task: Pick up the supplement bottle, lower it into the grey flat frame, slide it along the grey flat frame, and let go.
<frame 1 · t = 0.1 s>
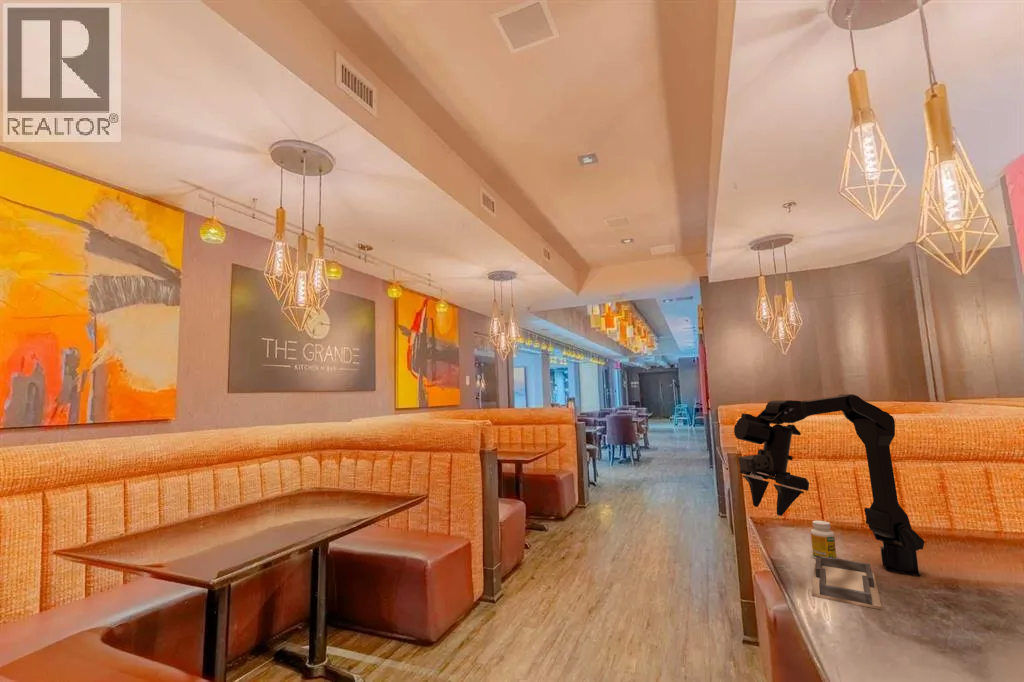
hand: (766, 510, 113), 15 cm above the table, tool pointing down, fingers open, 9 cm apart
grey flat frame: (844, 585, 105), on the table
supplement bottle: (824, 560, 122), on the table
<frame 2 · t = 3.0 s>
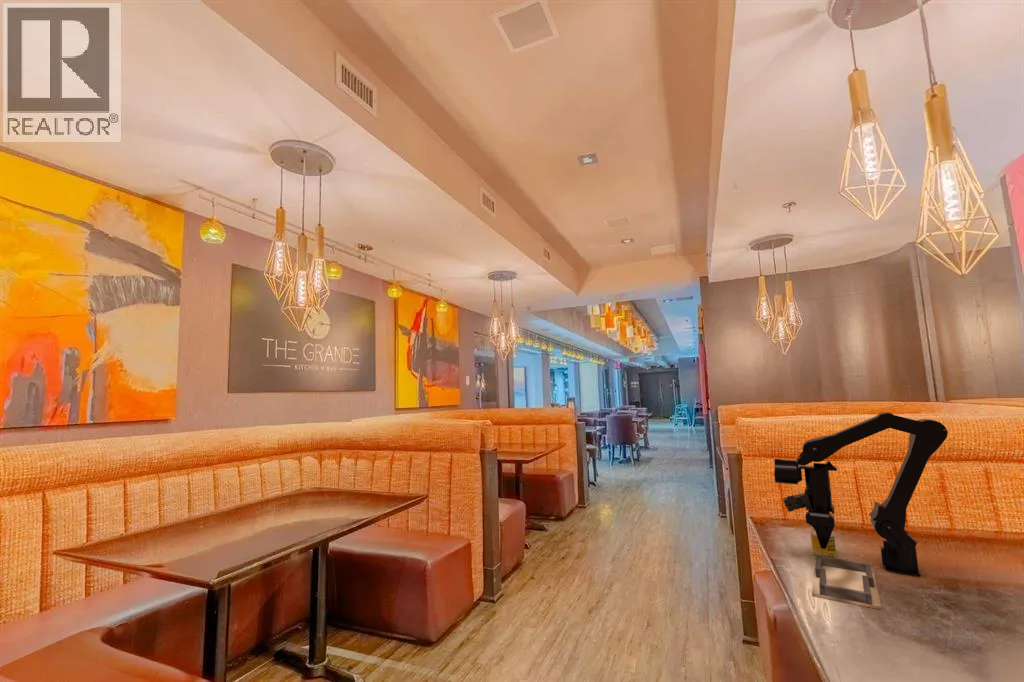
hand: (823, 545, 123), 4 cm above the table, tool pointing down, fingers closed on supplement bottle, 5 cm apart
supplement bottle: (824, 559, 122), on the table, touching gripper
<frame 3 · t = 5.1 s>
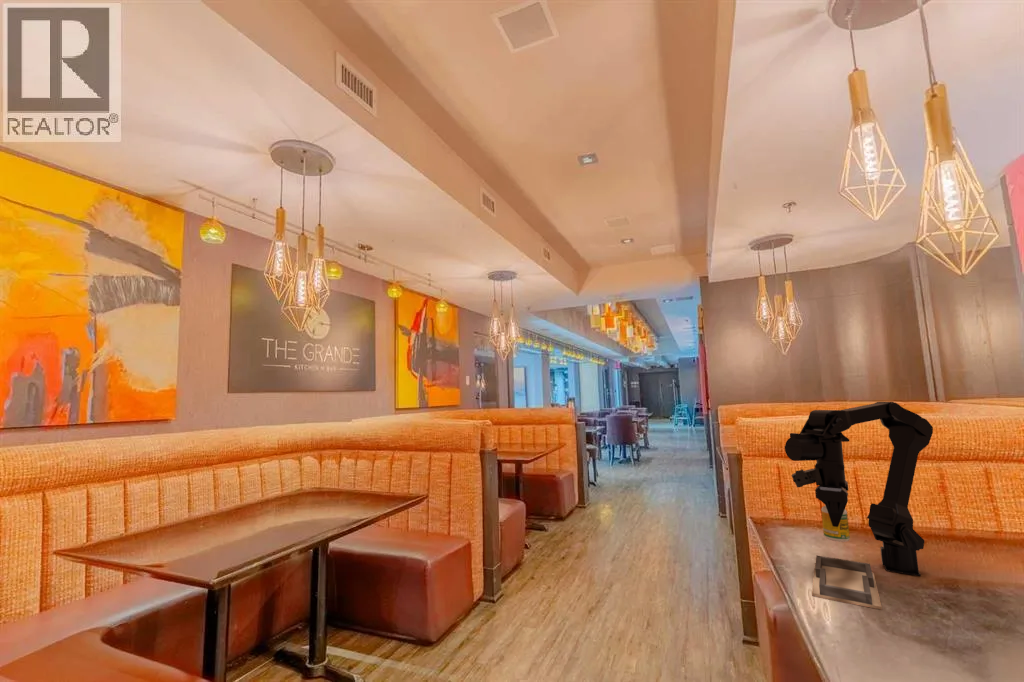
hand: (835, 523, 113), 12 cm above the table, tool pointing down, fingers closed on supplement bottle, 5 cm apart
supplement bottle: (836, 539, 112), point 8 cm above the table, touching gripper
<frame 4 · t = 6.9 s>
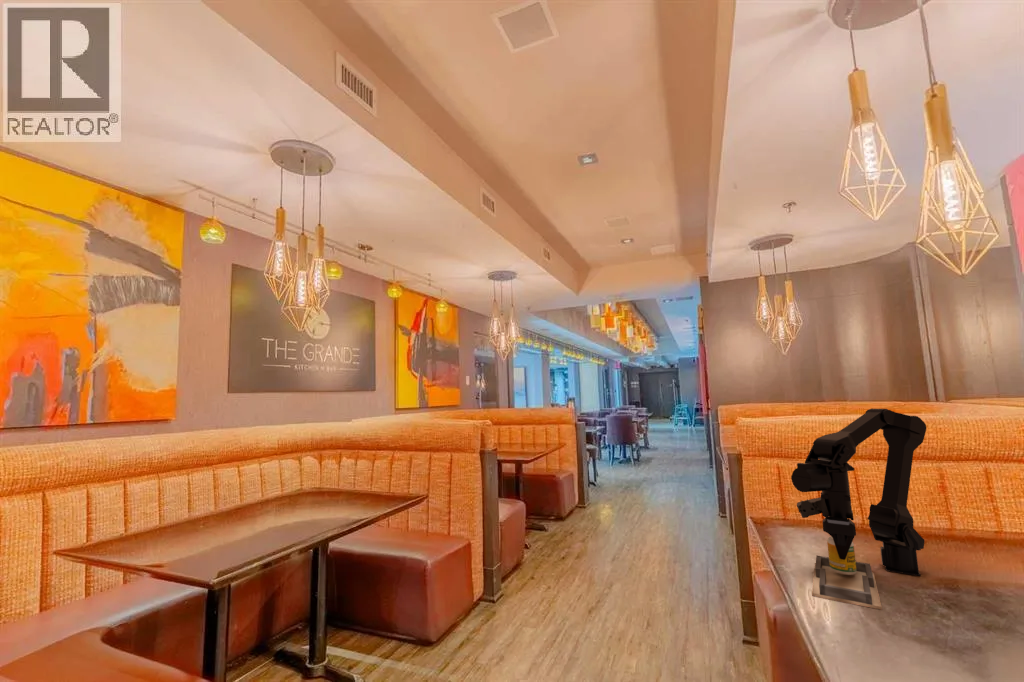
hand: (842, 555, 110), 5 cm above the table, tool pointing down, fingers closed on supplement bottle, 5 cm apart
supplement bottle: (843, 572, 110), point 1 cm above the table, touching gripper
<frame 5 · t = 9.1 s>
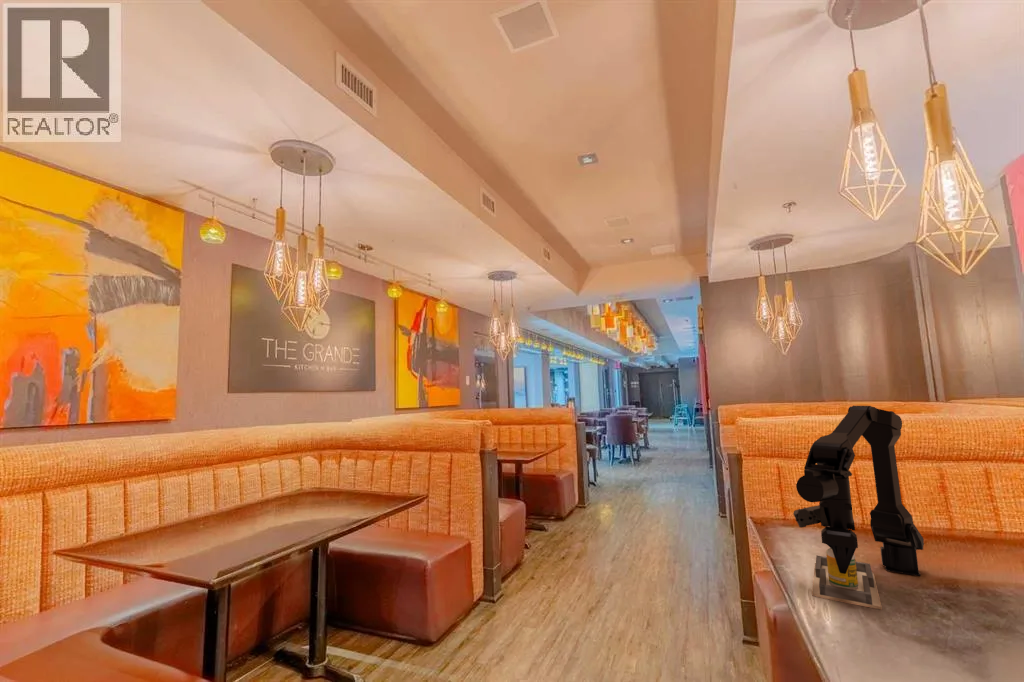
hand: (842, 569, 101), 5 cm above the table, tool pointing down, fingers closed on supplement bottle, 5 cm apart
supplement bottle: (843, 587, 101), point 1 cm above the table, touching gripper
when the fingers open (5 cm above the table, at t = 10.8 s): supplement bottle stays where it is, resting on grey flat frame.
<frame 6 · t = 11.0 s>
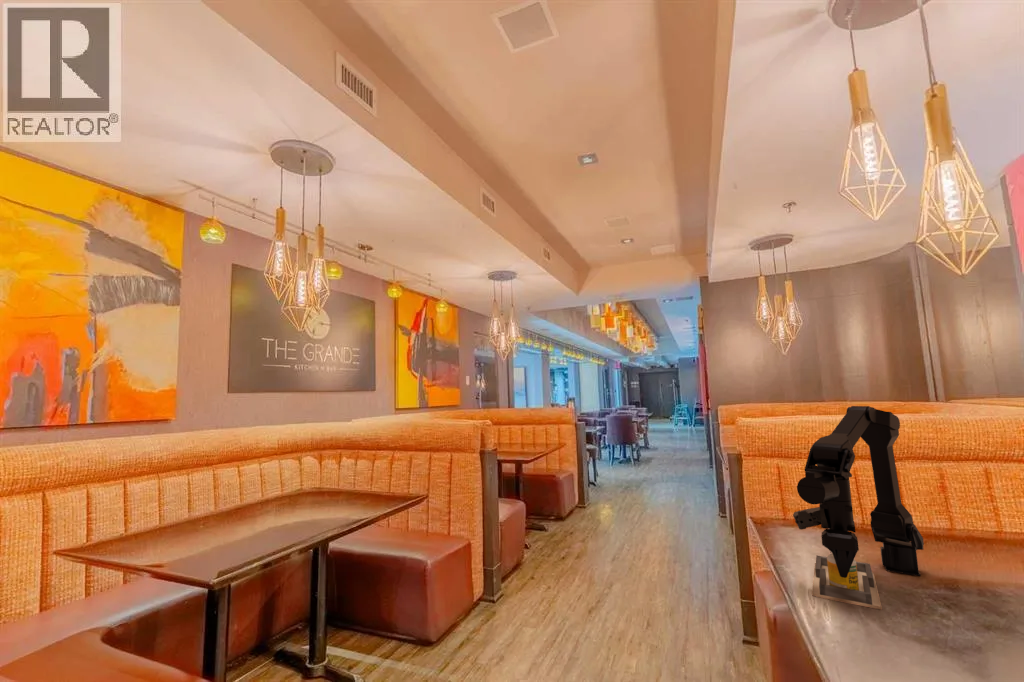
hand: (842, 571, 100), 5 cm above the table, tool pointing down, fingers open, 7 cm apart
supplement bottle: (844, 593, 100), point 1 cm above the table, touching grey flat frame
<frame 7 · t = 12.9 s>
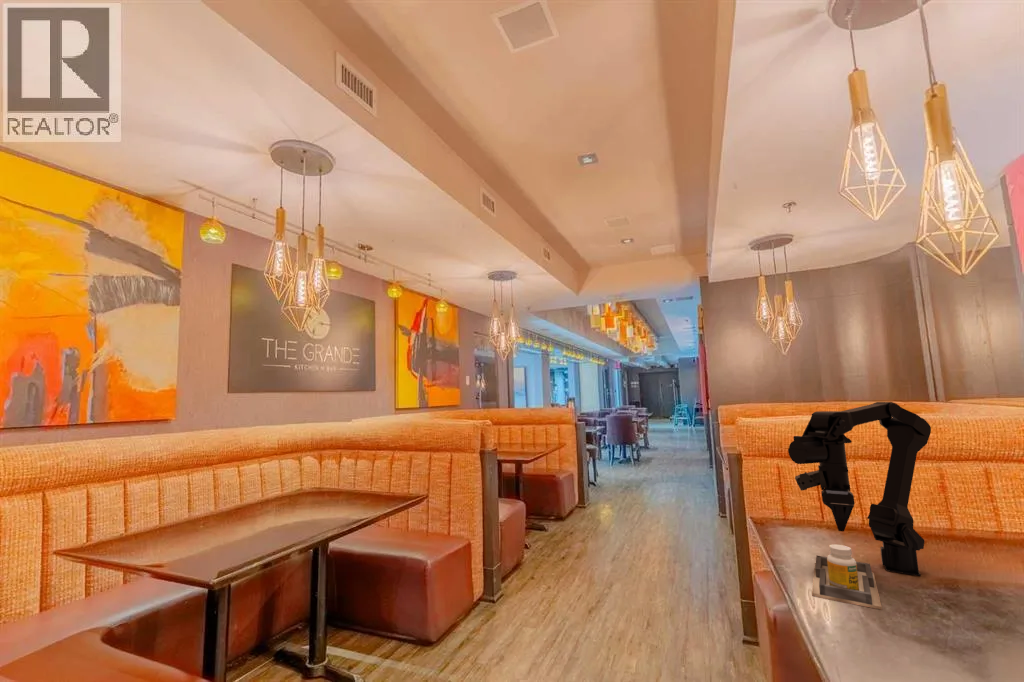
hand: (840, 526, 112), 12 cm above the table, tool pointing down, fingers open, 9 cm apart
nothing on the table moved.
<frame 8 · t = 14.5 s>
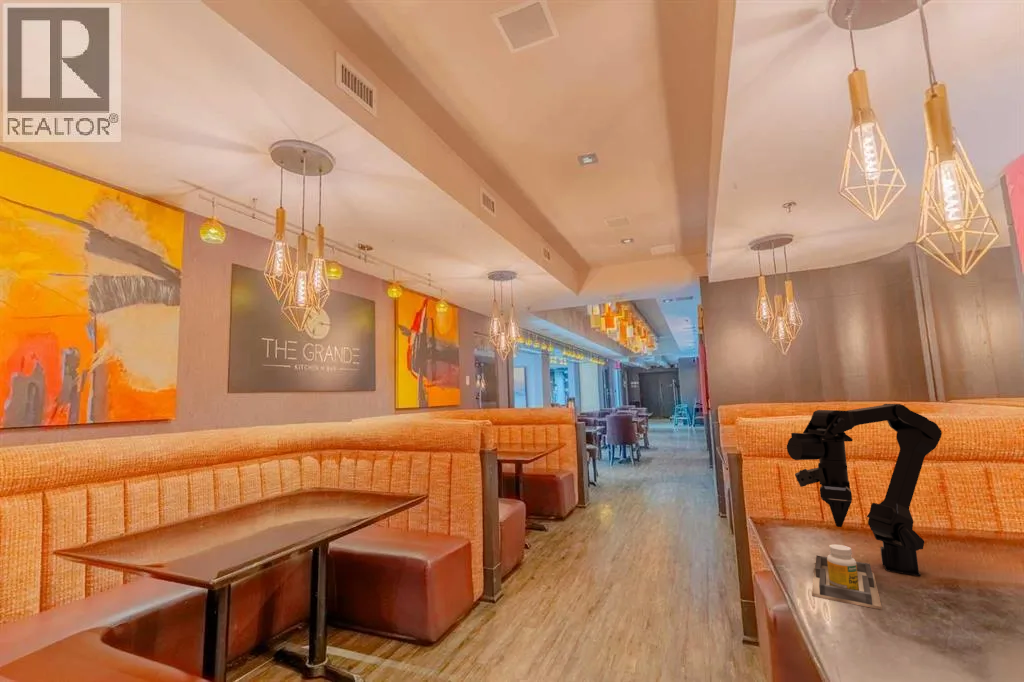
hand: (838, 522, 114), 12 cm above the table, tool pointing down, fingers open, 9 cm apart
nothing on the table moved.
at the end: supplement bottle 0.2 cm from the target spot on the grey flat frame, point 0.5 cm above the grey flat frame's base; supplement bottle tilted 0°; the gripper is holding nothing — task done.
